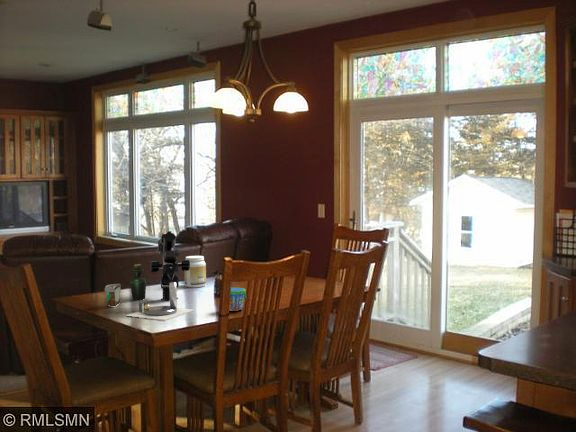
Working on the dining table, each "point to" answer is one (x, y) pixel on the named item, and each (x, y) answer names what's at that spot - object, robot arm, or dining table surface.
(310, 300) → the dining table surface
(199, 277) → the supplement tub
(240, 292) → the snack cup
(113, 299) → the food container
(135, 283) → the potion bottle
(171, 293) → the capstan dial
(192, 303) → the dining table surface
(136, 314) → the level stand
